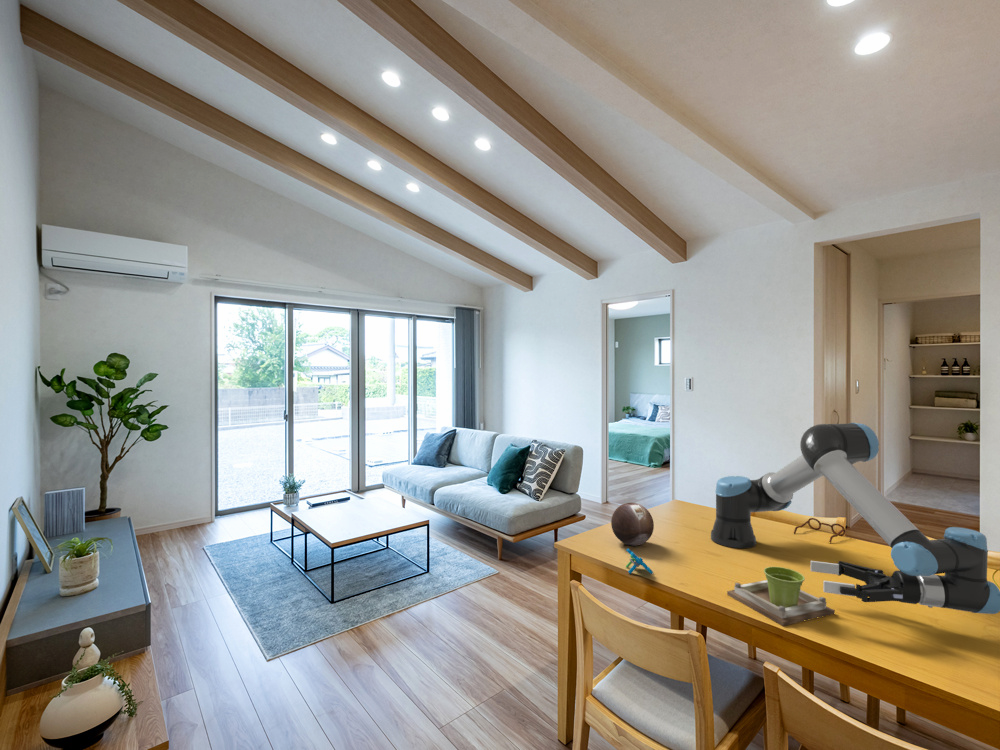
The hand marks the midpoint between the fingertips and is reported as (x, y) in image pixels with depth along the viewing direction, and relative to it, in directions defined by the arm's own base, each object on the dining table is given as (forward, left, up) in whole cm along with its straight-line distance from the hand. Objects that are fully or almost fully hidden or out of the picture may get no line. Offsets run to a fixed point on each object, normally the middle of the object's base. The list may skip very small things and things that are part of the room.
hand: (816, 575), depth 130 cm
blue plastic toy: (+30, -36, -9) cm, 48 cm away
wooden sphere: (+18, -58, -9) cm, 61 cm away
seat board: (+7, -6, -9) cm, 13 cm away
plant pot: (+8, -3, -8) cm, 12 cm away
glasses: (-55, -42, -10) cm, 70 cm away
